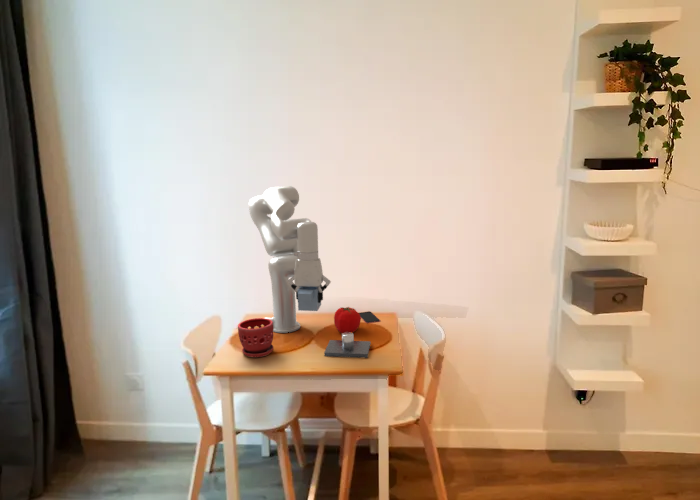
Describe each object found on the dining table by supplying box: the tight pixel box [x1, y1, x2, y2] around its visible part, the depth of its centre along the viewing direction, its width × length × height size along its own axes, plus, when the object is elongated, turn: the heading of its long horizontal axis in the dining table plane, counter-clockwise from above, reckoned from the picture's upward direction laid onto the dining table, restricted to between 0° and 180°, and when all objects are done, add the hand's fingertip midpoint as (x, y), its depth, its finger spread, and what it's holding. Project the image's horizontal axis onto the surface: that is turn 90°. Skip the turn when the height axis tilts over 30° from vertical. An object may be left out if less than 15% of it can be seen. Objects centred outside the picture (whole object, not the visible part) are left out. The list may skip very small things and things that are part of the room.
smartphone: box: [358, 310, 382, 324], centre depth 229 cm, size 7×1×14 cm
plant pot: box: [237, 317, 274, 358], centre depth 192 cm, size 13×13×12 cm
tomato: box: [333, 306, 362, 334], centre depth 212 cm, size 11×13×10 cm
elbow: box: [297, 287, 322, 312], centre depth 189 cm, size 7×12×8 cm, turn 172°
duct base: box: [323, 332, 372, 359], centre depth 193 cm, size 16×12×6 cm
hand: (309, 301), depth 192 cm, fingers closed on elbow, 7 cm apart
